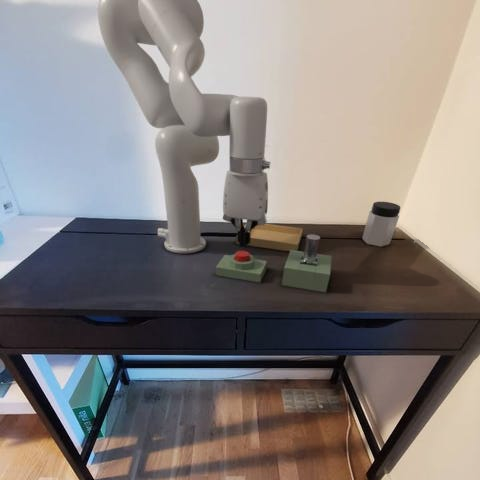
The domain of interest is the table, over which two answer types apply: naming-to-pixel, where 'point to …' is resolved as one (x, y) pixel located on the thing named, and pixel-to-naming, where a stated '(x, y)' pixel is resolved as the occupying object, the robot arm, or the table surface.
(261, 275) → the stop block
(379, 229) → the jar
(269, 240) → the tray
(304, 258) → the grey peg
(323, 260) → the green slotted base
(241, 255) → the stop button
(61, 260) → the table surface
